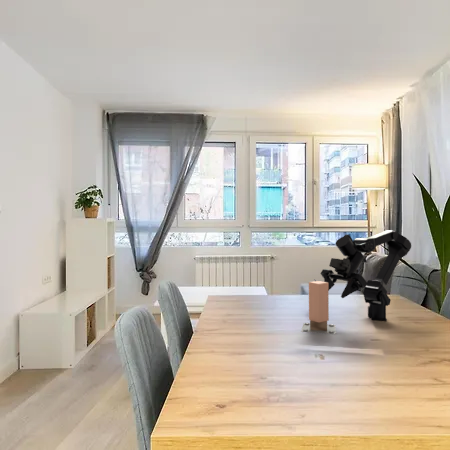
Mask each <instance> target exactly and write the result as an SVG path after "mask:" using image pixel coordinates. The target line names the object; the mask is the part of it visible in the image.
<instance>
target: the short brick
mask: <svg viewBox="0 0 450 450" xmlns="http://www.w3.org/2000/svg"><path fill="white" fill-rule="evenodd" d="M309 324H310V330H319V331H327V325H328V321H324V322H315V321H312V320H309Z"/></svg>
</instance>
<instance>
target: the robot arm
mask: <svg viewBox="0 0 450 450" xmlns="http://www.w3.org/2000/svg"><path fill="white" fill-rule="evenodd" d="M384 244H386V245H387V249H388V254H387V256H386V258H385V260H384V261H383V264H382V266H381V267H380V269H379V271H378V273H377V275H376V276H375V278H374V279H368V280H366V279H365V277H364V276H363V275H362V273H360V272H359V267H360V265H361V264H362V263H364V264H366V263H368V262H367V259H366V255H364V254H370V253H372V252H373V251H375V250H376V247H378V246H381V245H384ZM335 246H336V248H337V249H338V250H339V252H340V253H341V254H342V255H343V256H344V258H343V259H341V258H336V257H335V258H334V257H333V258H331V259H330V263H329V267H331V268H333V269H334V271H333V270H332V269H326V268H324V269H322V270H321V272H320V276H321V277H322V278H323V282H328V292H330V290H331V289H332V288H334V286H335V283H337V281H338V280H339V281H343V282H347V283H346V286H345V288H344V289H343V291H342V293H341V295H340V297H341V298H342V299H344V298H346V297H348V296H350V295H351V294H353V293H355V292H357V291H359V290H362V289H363V290H362V293H363V295H362V296H363V298H364V301H365V303H366V304H368V306H367V317H368V319H371V320H373V321H387V320H388V319H387V307H388V306H389V305H390V304H391V298H390V297H389V296H388V294H387V293H388V289H387V287H388V286H387V284H388V282H389V280H390V279H391V277H392V275H393V273H394V272H395V269H396V268H397V266H398V264H399V262H400V259H402V258H404V257H406V256H407V254H409V252H410V250H411V249H412V242H411V241H410V240H409V239H408V238H407V237H406V236H404V235H402V234H400V233H398V231H396V230H394V229H393V230H392V229H391V230H389V229H387V230H383V231H382V232H380V233H377V234H374V235H371V236H369V237H357V238H355V239H353V238H352V236H351V235H350V234H344V236H341V237H339V238H338V239H337V240H336V242H335ZM363 253H364V254H363ZM345 257H346V258H345ZM334 272H335V273H334Z"/></svg>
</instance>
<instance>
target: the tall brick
mask: <svg viewBox="0 0 450 450" xmlns="http://www.w3.org/2000/svg"><path fill="white" fill-rule="evenodd" d="M329 299H330V298H329V291H328V282H324V281H320V280H316V281H315V280H314V281H309V282H308V320H309V321H310V320H312V321H315V322H324V321H327V322H328V321H329V315H330V314H329V313H330V311H329V307H330V306H329V304H330V302H329Z"/></svg>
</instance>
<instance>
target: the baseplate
mask: <svg viewBox="0 0 450 450" xmlns="http://www.w3.org/2000/svg"><path fill="white" fill-rule="evenodd" d="M336 325H337V324H333V323H329V324H327V331H319V330H310V322H303V324H302V328H301V331H300V332H302V333H311V334H312V333H314V334H329V335H330V334H332V335H336V334H337V331H336Z"/></svg>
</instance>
